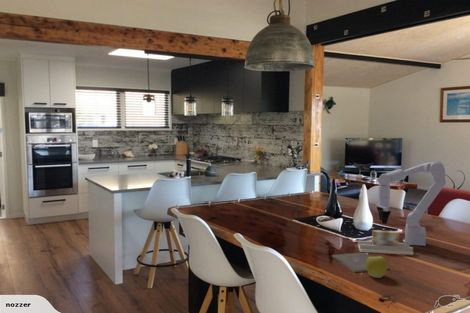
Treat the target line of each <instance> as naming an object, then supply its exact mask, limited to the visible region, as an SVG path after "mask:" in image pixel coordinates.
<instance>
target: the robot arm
mask: <svg viewBox="0 0 470 313" xmlns="http://www.w3.org/2000/svg"><path fill="white" fill-rule="evenodd" d="M422 172H423V173H427V174H428V173H430V175H432V178H433V181H434V182H433V184H432V185H431V186H430V187H429V189H428V190H427V192H426V193H425V194H424V195H423V197H422V198H421V200H420V201H419V202H418V204H417V206H416V207H415V208H414V209H413V210H412V211H410V212H409V213H407V217H406V219H405V222H406V223H405V229H404V231H405V232H404V234H405V235H404V239H402V241H403V243H410V246H424V247H425V246H427V245H426V243H427V242H426V241H427V240H426V239H427V231H426V230H427V229H426V227H425V226H422V224H421V222H420V221H421V219H422V217H423V216H424V214H425V212H426V211H427V210H428V208H429V207H431V204H432V203H433V202H434V200H435V199H436V197H437V196H438V195H439V193H440V192H441V191H442V190H443V188H444V186H445V185H446V182H447V181H446V170H445V166H444V164H443V163H442V162H441V161H439V160H434V161H429V162H424V163H421V164H418V165H414V166H412V167H410V168H407V169H402V168H398V167H397V168H395V170H392V171H386V172H385V173H382V174H380V175H379V177H378V179H377V181H378V188H377V190H378V193H377V194H378V195H377V196H378V197H377V198H378V199H377V203H376V204H375V207H376V209H377V212H378V218H379V221H381V223H382V225H387V224H388V220H389V217H390V214H391V213H392V211H391V210H389V208H390V207H391V205H390V200H391V185H390V183H391V184H392V183H396V182H400V181H403V180H405V179H406V178H407V176H411V175H414V174H418V173H422Z"/></svg>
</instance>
